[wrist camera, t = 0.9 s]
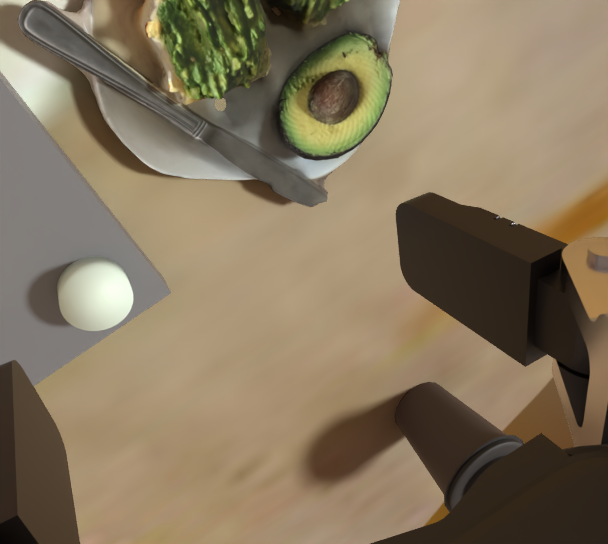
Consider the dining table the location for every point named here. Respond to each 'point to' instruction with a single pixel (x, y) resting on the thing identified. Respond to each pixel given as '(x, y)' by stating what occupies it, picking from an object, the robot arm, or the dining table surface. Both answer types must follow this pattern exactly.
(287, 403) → the dining table surface
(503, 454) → the coffee cup
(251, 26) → the salad plate
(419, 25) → the dining table surface
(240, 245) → the dining table surface
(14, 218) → the base
